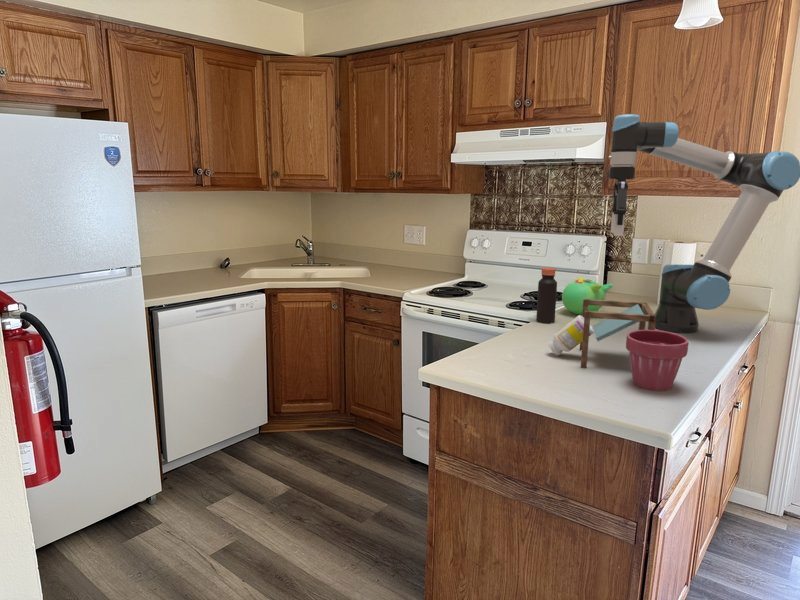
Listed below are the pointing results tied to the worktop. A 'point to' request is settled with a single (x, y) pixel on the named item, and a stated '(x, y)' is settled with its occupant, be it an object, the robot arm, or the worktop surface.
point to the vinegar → (546, 296)
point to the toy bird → (583, 294)
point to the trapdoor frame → (642, 319)
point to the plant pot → (655, 357)
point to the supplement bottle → (569, 336)
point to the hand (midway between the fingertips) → (616, 234)
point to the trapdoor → (615, 324)
